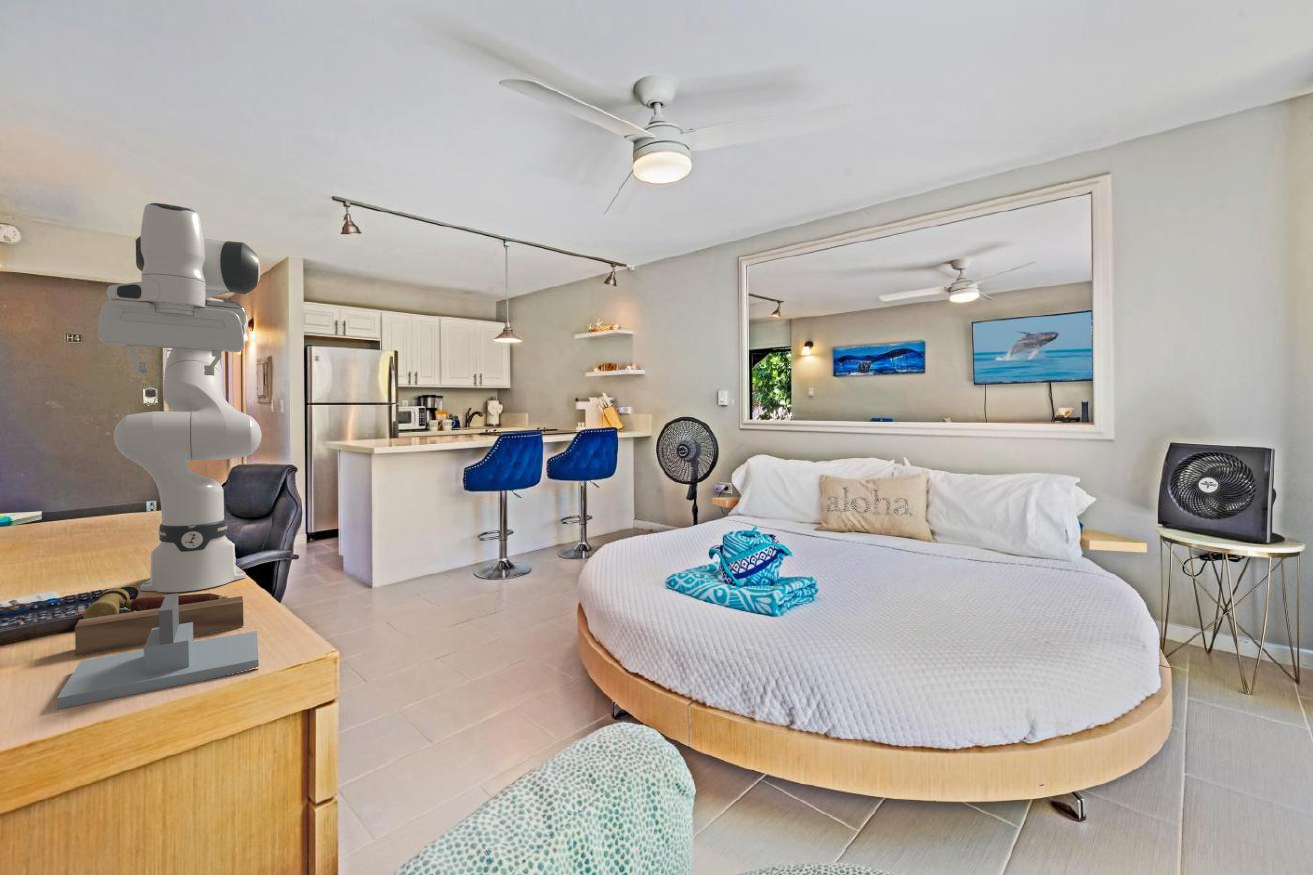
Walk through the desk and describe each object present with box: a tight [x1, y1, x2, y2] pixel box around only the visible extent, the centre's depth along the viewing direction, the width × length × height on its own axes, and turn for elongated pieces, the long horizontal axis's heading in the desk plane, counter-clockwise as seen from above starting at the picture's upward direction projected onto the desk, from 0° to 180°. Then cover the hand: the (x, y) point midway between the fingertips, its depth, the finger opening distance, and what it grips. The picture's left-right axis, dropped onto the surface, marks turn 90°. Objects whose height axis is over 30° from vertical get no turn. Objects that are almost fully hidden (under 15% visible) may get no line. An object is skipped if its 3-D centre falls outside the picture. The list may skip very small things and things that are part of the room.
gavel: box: [83, 587, 230, 619], centre depth 116 cm, size 21×5×10 cm
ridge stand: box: [56, 592, 260, 710], centre depth 89 cm, size 14×22×10 cm, turn 125°
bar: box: [74, 595, 245, 657], centre depth 102 cm, size 4×22×5 cm, turn 127°
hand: (176, 374), depth 105 cm, fingers open, 8 cm apart
